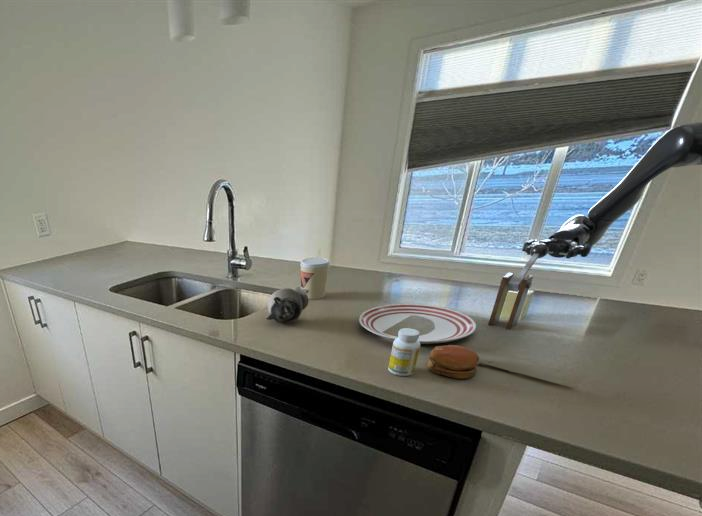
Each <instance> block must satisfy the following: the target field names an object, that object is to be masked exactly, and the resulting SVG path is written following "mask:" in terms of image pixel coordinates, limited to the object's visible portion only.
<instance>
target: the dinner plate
mask: <svg viewBox="0 0 702 516" xmlns="http://www.w3.org/2000/svg"><path fill="white" fill-rule="evenodd" d="M411 316H414V317H415V316H416V317H420V318H424V319H428V320H429V321H430V322H432V323H433V325H434V329H433V330H431V331H430V332H428V333H425V334H422V335H421V334H420V335H419V338H418V341H419V342H420V345H433V344H442V343H450V342H454V341H455V342H456V341H458V340H461V339H464V338H467V337H469V336H470V335H472V334H473V333H475V331H476V329H477V323H476V322H475V320H473V318H472V317H470V316H468V315H466V314H465V313H463V312H461V311H458V310H455V309H451V308H448V307H442V306H436V305H429V304H421V303H395V304H385V305H379V306H376V307H373V308H370V309H367V310H365V311H363V313H361V314H360V315H359V317H358V322H359V324H360V326H361V327H362V328H364V329H365V330H367V331H369V332H371V333H372V334H374V335H376V336H379V337H382V338H384V339H388V340H391V341H394V340H395V339H396V338H398V335H391V334H388V333H386V332H385V331H386V330H389V329H390V328H392V327H394V326H395V325H397V324H399V323H400V322H403V321H404V320H406V319H407V318H409V317H411Z"/></svg>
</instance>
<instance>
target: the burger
mask: <svg viewBox="0 0 702 516" xmlns="http://www.w3.org/2000/svg"><path fill="white" fill-rule="evenodd" d="M479 362H480V356H479V355H478V352H476V351H475V350H473V349H470V348H467V347H464V346H461V345H455V344H448V345H438V346H437V345H436V346H434V347H433V348H432V350H431V351H430V353H429V358H428V362H427V364H426V367H427V369H428V370H429V371H430V372H432V373H434V374H437V375H443V376H446V377H448V378H455V379H469V378H472V377H473V376H475V374H476V373H477V366H478V363H479Z"/></svg>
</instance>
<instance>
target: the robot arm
mask: <svg viewBox="0 0 702 516" xmlns="http://www.w3.org/2000/svg"><path fill="white" fill-rule="evenodd" d="M688 166H689V167H690V166H702V121H696V122H688V123H683V124H679V125H677V126H674V127H672V128H670V129H668V130H667V131H666V132H665V133H663V134H662V135H661V136H660V137H659V138H658V139H657V140H656V141H655V142H654V143H653V144H652V145H651V147H650V148H649V149H648V150H647V151H646V152H645V153H644V155H643V156H642V157H641V158H640V159H639V160H638V162H636V163H635V165H634V166H633V167H632V168H631V170H629V172H628V173H627V174H626V176H624V177H623V178H622V180H621V181H620V182H619V183H617V185H616V186H615V187H614V188H613V189H611V190H610V191H609V192H608V193H607V194H605V195H604V196H603V197H602V198H601V199H600V200H599V201H597V203H595V204H594V205H593V206H592V207H591V208H590V209H589V210H588V212H587V215H584V214H577V215H574V216H572V217H570V218H569V219H568V220H566V221H565V222H564V223H563V224H562V226H561V227H560V229H559V230H558V231H556V232H554V233H553V234H550V236H549V237H548V238H547V239H541V240H539V241H538V240H537V238H531V239H529V240H527V241H524V243H523V246H522V250H521V252H524V253H526V255H528V256H531V255H530V251H531V249H532V247H533V246H535V245H537V244H546V245H547V246H548V248H549V251H548V253H547V255H549V256H550V257H552V258H557V259H558V258H559V259H560V258H565V259H571V258H575V257H578V256H580V257H581V258H585V257H588V256H589V254H591V252H592V251H591V250H592V248H593V246H595V245H596V244H598V243H599V241H600V240H601V239H602V238H603V237H604V235H605V234H606V232H607V231H608V230H609V228H610V227H611V226H612V225H613V224H614V223H615V222H616V221H617V220H619V219H620V218H621V217H622V216H624V215H625V214H626V213H627V212H629V211H630V210H631V209H632V208H633V207H635V206H636V204H638V202H639V201H640V200H641V198H642V196H643V194H644V192H645V190H646V187H647V186H648V184H650V183H651V181H653V180H654V179H656V178H657V177H658V176H660V175H661V174H662V173H663V174H664V172H666V171H668V170H669V169H672V168H673V169H674V168H681V167H688Z"/></svg>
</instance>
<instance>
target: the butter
mask: <svg viewBox="0 0 702 516" xmlns="http://www.w3.org/2000/svg"><path fill="white" fill-rule="evenodd" d="M535 292H536V291H535V290H533V289H529V290H528V293H527V296H526V299H525V302H524V305H523V308H522V311H521V314H520V316H519V319H518V321H521V320H523V319H524V318H525V317H526V316H527V314H528V311H529V309H530V305H531V302H532V301H533V298H534V294H535ZM517 294H518V292H516V291H510V290H508V294H507V297H506V300H505V303H504V306H503V309H502V312H501V315H500V318H505V319H509V318H510V315H511V312H512V309H513V306H514V303H515V300H516V297H517Z"/></svg>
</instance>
